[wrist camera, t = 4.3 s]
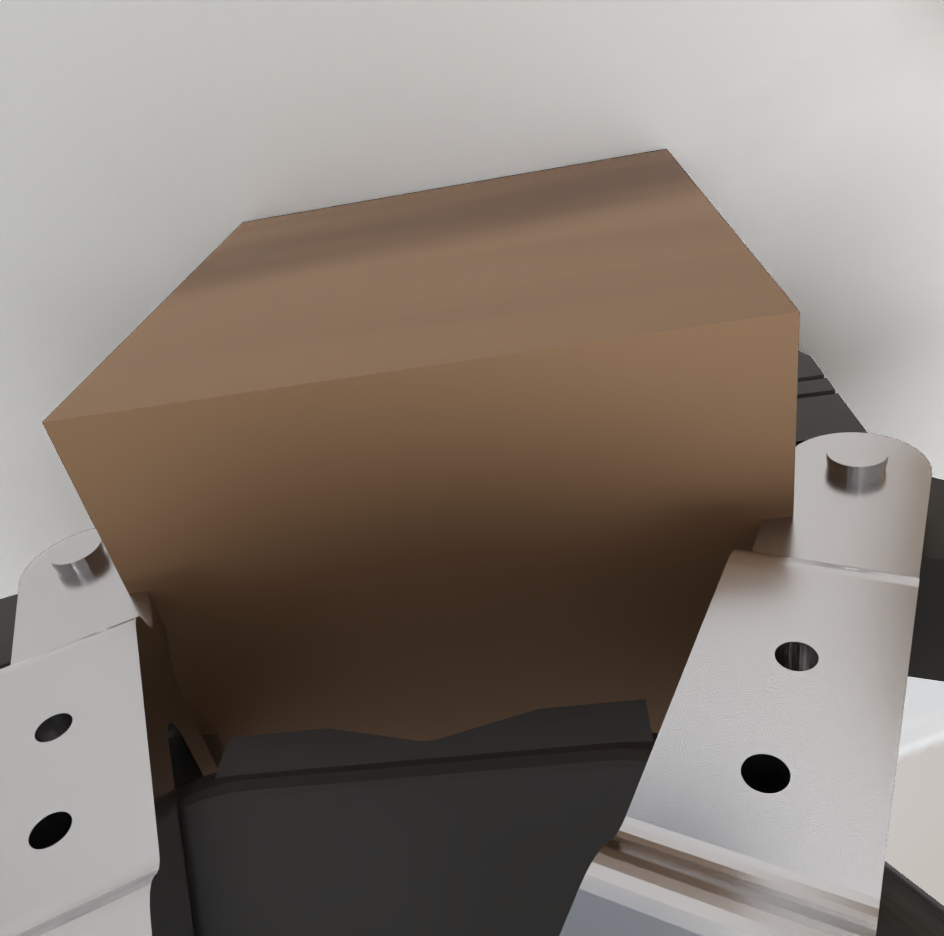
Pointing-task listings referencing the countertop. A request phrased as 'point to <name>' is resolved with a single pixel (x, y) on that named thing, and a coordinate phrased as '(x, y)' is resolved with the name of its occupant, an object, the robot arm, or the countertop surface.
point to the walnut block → (445, 451)
